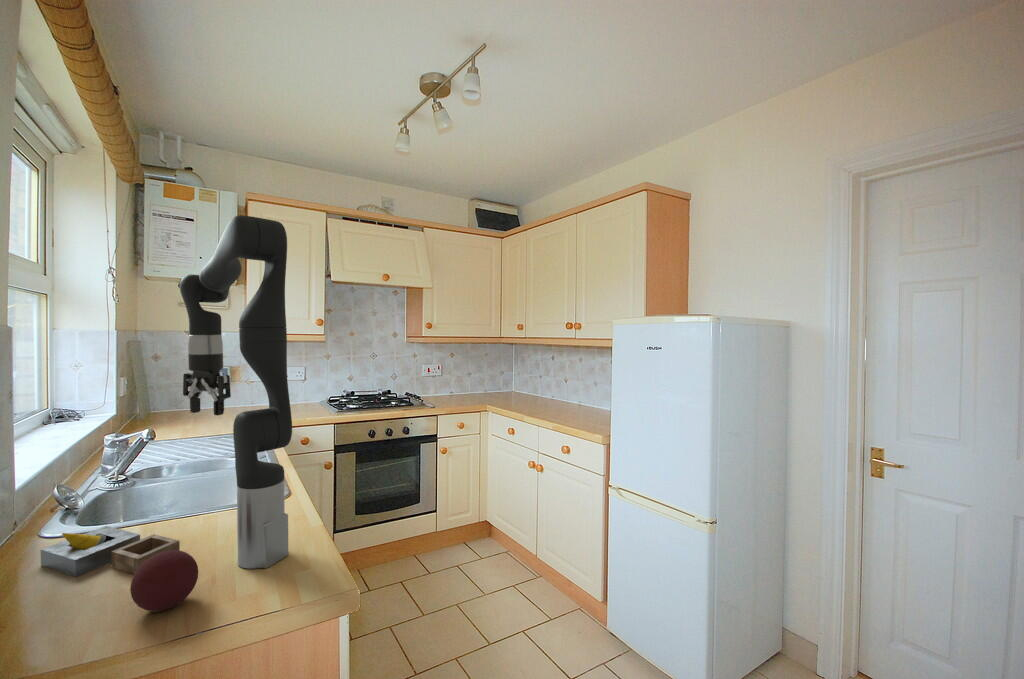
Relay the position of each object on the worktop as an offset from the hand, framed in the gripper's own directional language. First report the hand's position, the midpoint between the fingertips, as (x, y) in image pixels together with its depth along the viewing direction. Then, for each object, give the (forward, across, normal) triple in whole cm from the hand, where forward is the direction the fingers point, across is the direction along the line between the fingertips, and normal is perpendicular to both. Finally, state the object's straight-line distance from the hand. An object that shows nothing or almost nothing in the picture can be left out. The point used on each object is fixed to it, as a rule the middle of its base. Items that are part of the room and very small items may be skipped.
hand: (206, 413), depth 120 cm
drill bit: (+28, +5, +24) cm, 37 cm away
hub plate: (+28, +5, +23) cm, 37 cm away
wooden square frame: (+28, -8, +20) cm, 35 cm away
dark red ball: (+28, -28, +29) cm, 49 cm away
